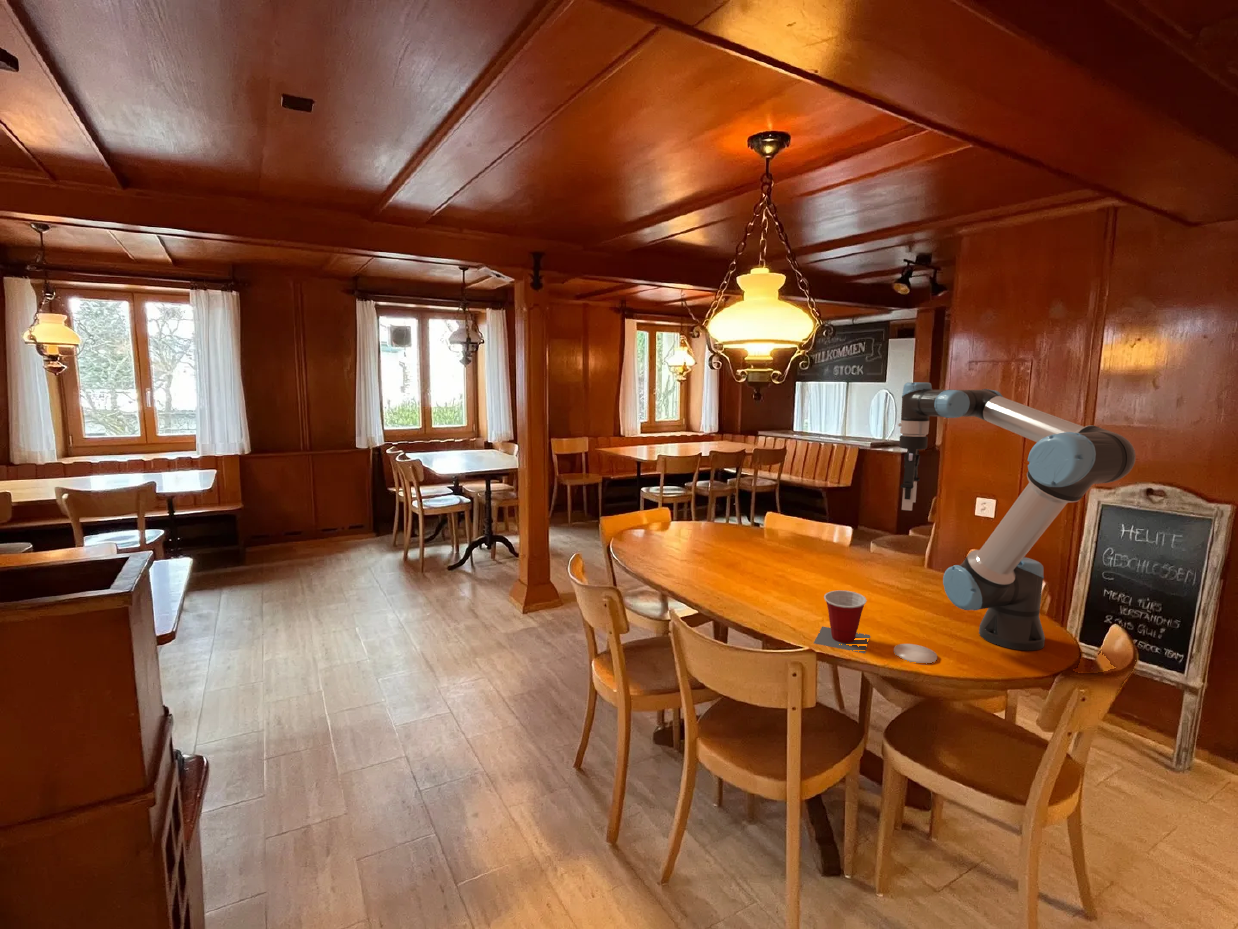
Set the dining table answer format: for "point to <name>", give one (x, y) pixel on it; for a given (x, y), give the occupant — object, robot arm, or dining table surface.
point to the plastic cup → (844, 614)
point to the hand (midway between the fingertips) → (908, 506)
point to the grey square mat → (827, 640)
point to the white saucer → (915, 653)
